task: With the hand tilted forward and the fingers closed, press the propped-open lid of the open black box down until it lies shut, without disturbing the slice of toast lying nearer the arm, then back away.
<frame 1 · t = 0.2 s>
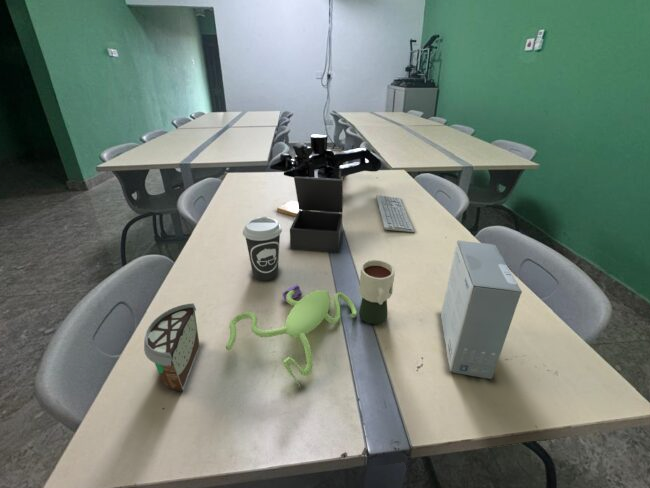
hand: (276, 170, 112), 17 cm above the table, tool horizontal, fingers open, 9 cm apart
keyboard: (392, 214, 121), on the table
toast: (293, 210, 122), on the table
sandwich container: (336, 175, 163), on the table
hard drive box: (463, 344, 65), on the table
coffee cup: (265, 274, 85), on the table
figurine: (296, 332, 66), on the table
lid: (319, 195, 99), point 14 cm above the table, hinge at 65.0°
open black box: (317, 239, 102), on the table
food container: (174, 368, 58), on the table
character mug: (372, 317, 71), on the table
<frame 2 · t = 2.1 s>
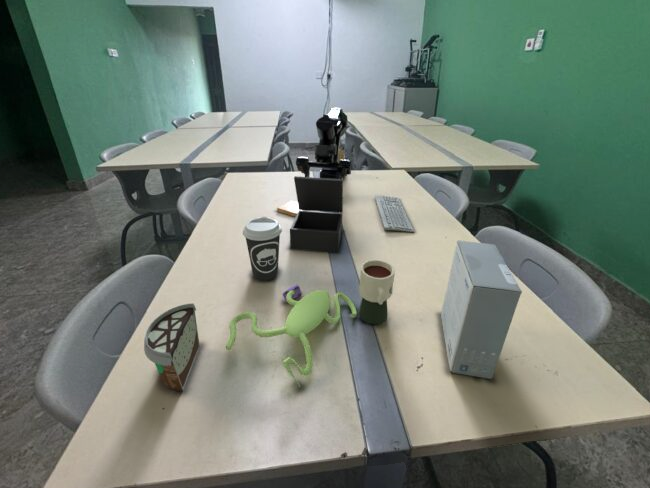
hand: (320, 187, 106), 14 cm above the table, tool tilted 45°, fingers open, 9 cm apart
nothing on the table moved.
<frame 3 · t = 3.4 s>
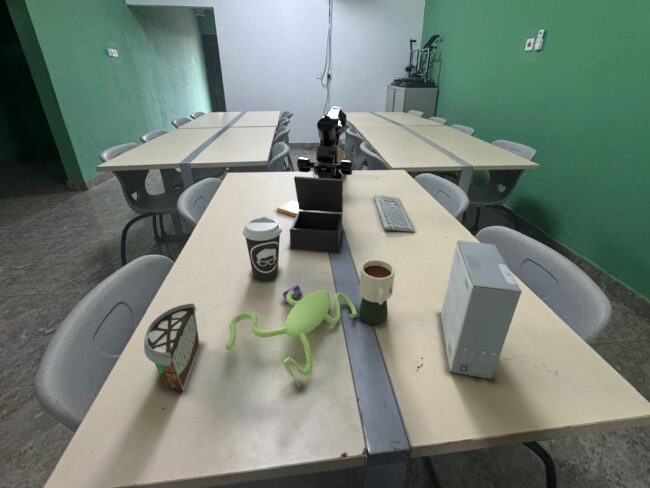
hand: (322, 188, 106), 14 cm above the table, tool tilted 45°, fingers closed
nothing on the table moved.
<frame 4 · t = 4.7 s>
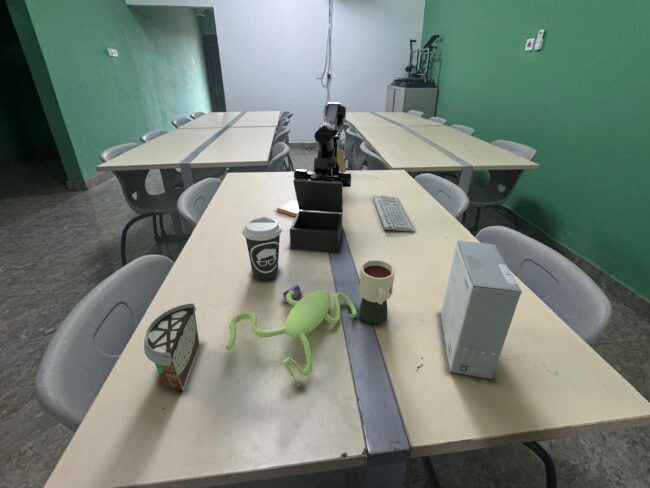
hand: (320, 201, 102), 11 cm above the table, tool tilted 45°, fingers closed, pressing on lid
lid: (319, 196, 99), point 14 cm above the table, hinge at 60.0°, touching gripper
everything else where it was.
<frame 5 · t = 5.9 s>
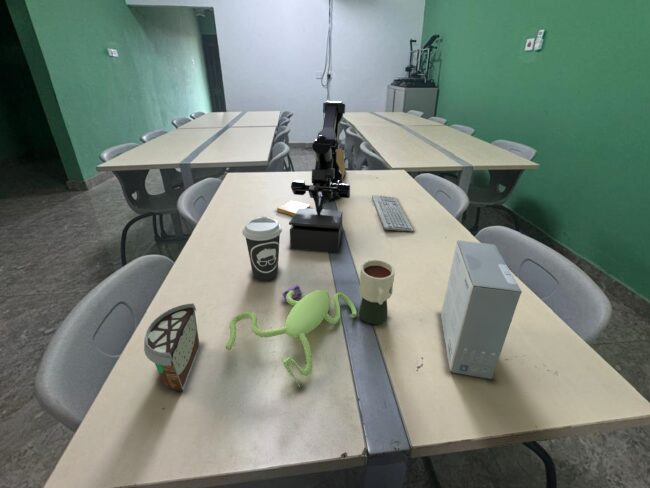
hand: (318, 214, 99), 9 cm above the table, tool tilted 45°, fingers closed
lid: (317, 217, 98), point 8 cm above the table, hinge at 7.0°
everything else where it was.
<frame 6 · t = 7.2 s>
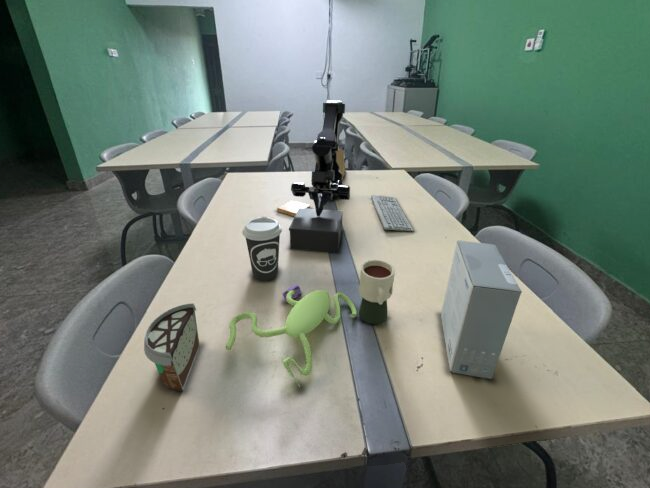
hand: (318, 215, 99), 8 cm above the table, tool tilted 45°, fingers closed
lid: (317, 220, 98), point 7 cm above the table, hinge at -0.2°, touching open black box
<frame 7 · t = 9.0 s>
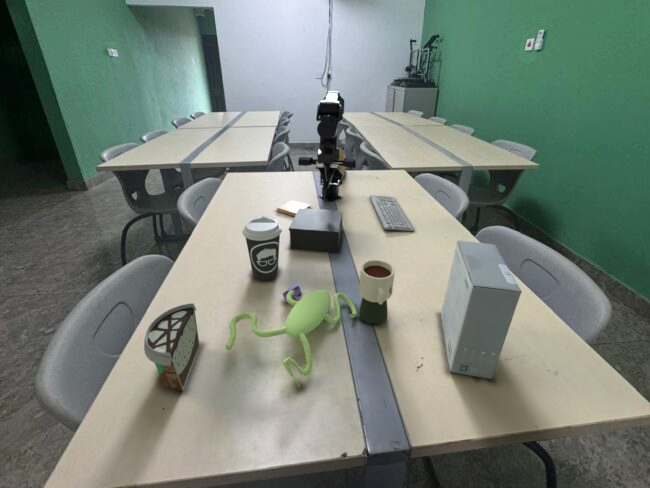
hand: (326, 188, 106), 14 cm above the table, tool tilted 15°, fingers closed
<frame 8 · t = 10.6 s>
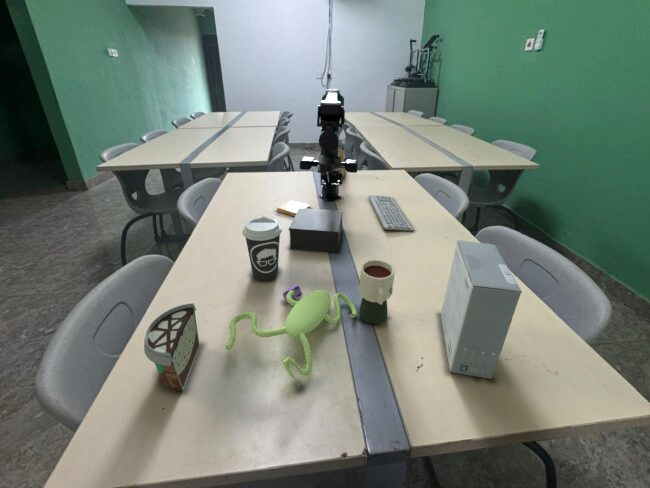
hand: (328, 189, 107), 13 cm above the table, tool pointing down, fingers closed
at the end: lid at +0° (first picture: +65°); toast moved 0.0 cm from its start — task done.
